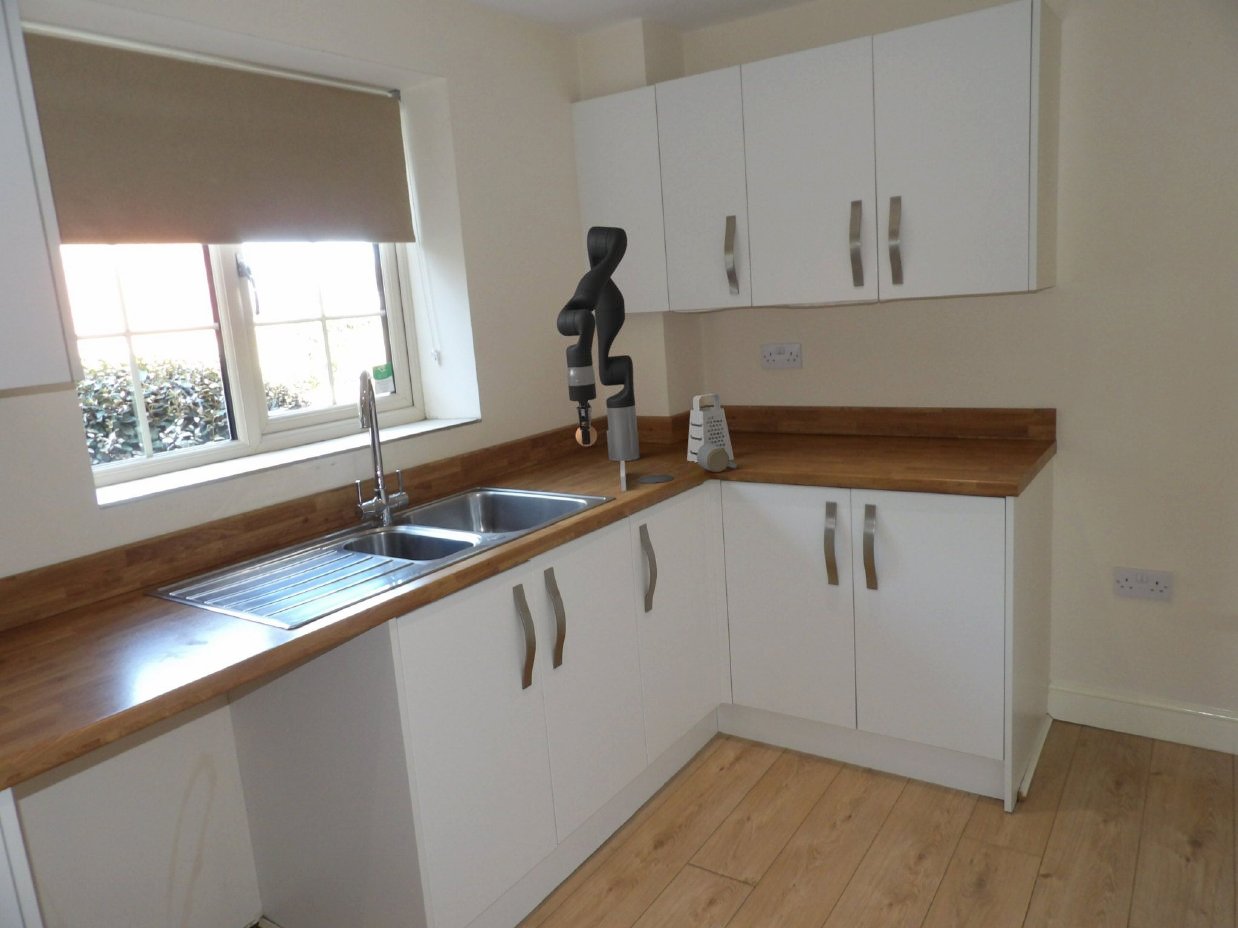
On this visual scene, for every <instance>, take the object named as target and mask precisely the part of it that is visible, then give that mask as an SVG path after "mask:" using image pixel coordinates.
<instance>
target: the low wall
mask: <svg viewBox="0 0 1238 928" xmlns="http://www.w3.org/2000/svg"><path fill="white" fill-rule="evenodd" d="M619 462H620V463H619V464H620V466H619V467H620V486H621V487H620V488H621V492H627V477H626V464H625V462H626V461H619Z"/></svg>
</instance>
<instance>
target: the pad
mask: <svg viewBox="0 0 1238 928" xmlns="http://www.w3.org/2000/svg"><path fill="white" fill-rule="evenodd" d="M671 479H673V480H674V476H673V475H669V474H668V475H667V474H655V475H646V476H642V477H639V478H638V479H637V482H638V481H639V482H638V483H640V482H642V484H657V483H656V482H662V483H666V482H665V481H667V482H669V481H668V480H671ZM671 481H672V480H671Z"/></svg>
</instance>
